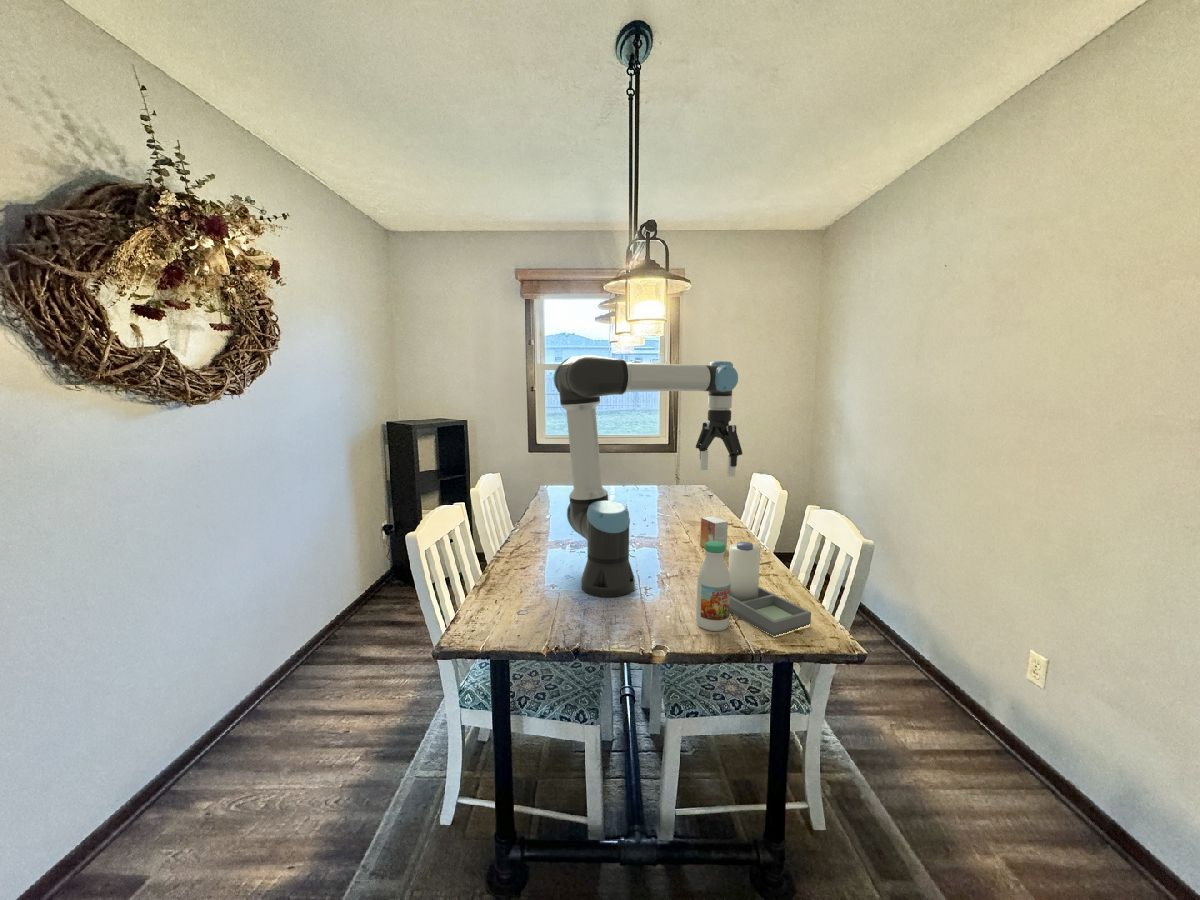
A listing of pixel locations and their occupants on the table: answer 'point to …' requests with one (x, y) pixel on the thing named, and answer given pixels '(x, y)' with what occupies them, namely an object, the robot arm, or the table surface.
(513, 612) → the table surface
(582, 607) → the table surface
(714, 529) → the small box
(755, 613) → the tray
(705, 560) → the milk bottle
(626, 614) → the table surface
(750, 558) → the twin bottle
